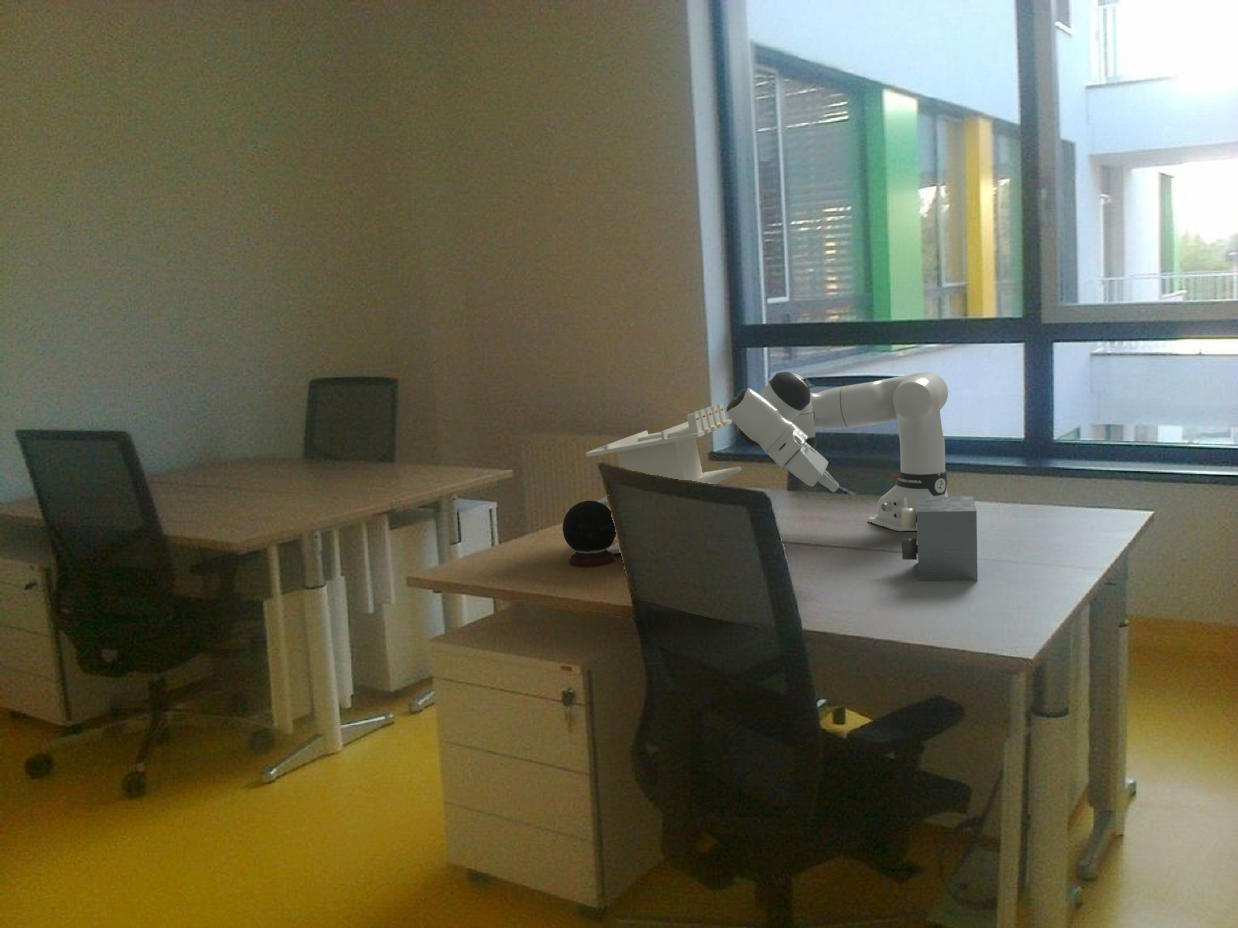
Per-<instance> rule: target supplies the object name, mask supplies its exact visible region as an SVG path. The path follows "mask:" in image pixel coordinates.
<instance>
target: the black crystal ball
mask: <svg viewBox="0 0 1238 928" xmlns="http://www.w3.org/2000/svg"><path fill="white" fill-rule="evenodd" d="M597 501H598V500H584V501H580V502H578V503H576V504H575V505H573V506H572V507H571V508H570V509H569V510H568V511H567V512H566V514H565V516H564V518H563V521H562V534H563V538H564V540H565V542H566V543H567V545H568V546H569V547H570V548H571V549H572V550H573V551H575V552H574V553H573V554H572V555H570V558H569V559H568V564H569V565H570V566H571V567H575V568H596V567H597V568H598V567H599V568H600V567H604V566H608V565H610V564H613V563H615V561H616V557H615V555H614V554H612V553H611V552H609V551H608V550H607V548H609V547H611V546H612V544H613V543H614V541H615V538H616V537H617V533H616V532H615V526H614V523H613V520H612V517H611V511H612V510H611V509H610V508H609V507H608V506H607V505H604V504H602V503H599V502H597ZM610 510H611V511H610Z"/></svg>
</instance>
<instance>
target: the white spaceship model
mask: <svg viewBox="0 0 1238 928" xmlns="http://www.w3.org/2000/svg"><path fill="white" fill-rule="evenodd" d="M686 418H687V421H685V422H683V423H680V424H678V425H675V426H672V427H670V428H669V427H668V428H666V429H663V430H662V431H659V432H654V433H653V432H652V433H649V432H648V430H644V431H643V430H642V431H641V432H638V433H636V434H633V435H630V436H627V437H625V438H621V439H619V440H615V441H614V442H611V443H608V444H605V445H603V446H600V447H597V448H595V449H592V450H589V451H587V452H585V457H597V456H601V455H607V454H612V453H617V457H618V463H619V467H620V468H621V467H623V468H626V469H629V470H632V471H639V472H643V473H646V474H650V475H659V476H663V477H668V478H673V479H679V480H692V481H697V482H702V483H708V484H715V485H717V484H719V483H721V482H723V481H724V480H725V479H728V478H730V477H732V476H733V475H736V474H737V473H739V472H741V471H742V469H743V468H742V466H736V467H730V468H724V469H723V468H722V469H718V470H711V471H705V472H703V469H702V463H701V458H700V454H699V449H698V443H697V438H701V437H703V436H705V434H710V433H711V432H713V431H714V432H715V431H716V430H718V429H722V428H723V427H726V426H728V425H730V424H732V423H733V421H732V419H731V418H729V419H727V418H726V412H725V408H724V405H723V403H717V404H716V403H715V404H712V405H711V406H707V407H706V408H701V409H700V410H696V411H694V412H692V413H688V414H687V416H686ZM607 496H608V495H606V496H603V497H602V498H599V499H598V500H596V501H597V502H599V503H602V504H604V505H605V506H607V505H609V504H608V500H607ZM607 550H608V551H609V552H611V553H612V554H613V555H614V554H621V553H620V552H619V546H618V542H616V543H614V544H613V545H610V547H609V548H607Z"/></svg>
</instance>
